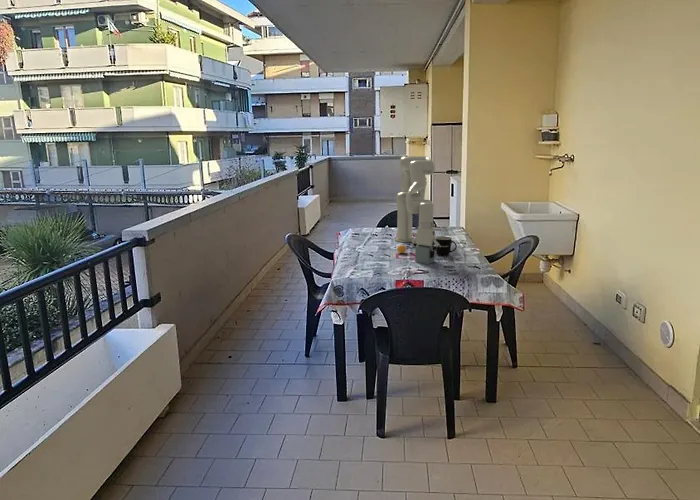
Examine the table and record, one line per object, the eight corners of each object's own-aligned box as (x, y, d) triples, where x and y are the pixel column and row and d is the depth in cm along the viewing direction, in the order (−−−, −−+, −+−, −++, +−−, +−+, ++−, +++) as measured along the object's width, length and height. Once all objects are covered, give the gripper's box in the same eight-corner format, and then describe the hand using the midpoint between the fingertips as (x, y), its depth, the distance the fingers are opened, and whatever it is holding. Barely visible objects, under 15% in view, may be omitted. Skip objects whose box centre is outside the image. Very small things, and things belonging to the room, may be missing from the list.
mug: (434, 256, 285) (435, 239, 282) (435, 252, 293) (436, 235, 291) (456, 257, 282) (456, 240, 280) (456, 253, 291) (457, 236, 288)
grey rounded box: (422, 258, 280) (422, 243, 278) (434, 261, 275) (434, 245, 273) (415, 262, 274) (415, 246, 272) (427, 264, 270) (428, 248, 267)
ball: (400, 251, 296) (400, 243, 295) (407, 253, 293) (407, 244, 292) (395, 253, 292) (395, 245, 291) (402, 254, 289) (402, 246, 288)
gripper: (443, 225, 268) (442, 257, 272) (415, 222, 278) (414, 252, 282) (437, 228, 262) (436, 260, 266) (408, 224, 272) (407, 255, 276)
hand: (425, 256), depth 274 cm, fingers closed on grey rounded box, 7 cm apart
